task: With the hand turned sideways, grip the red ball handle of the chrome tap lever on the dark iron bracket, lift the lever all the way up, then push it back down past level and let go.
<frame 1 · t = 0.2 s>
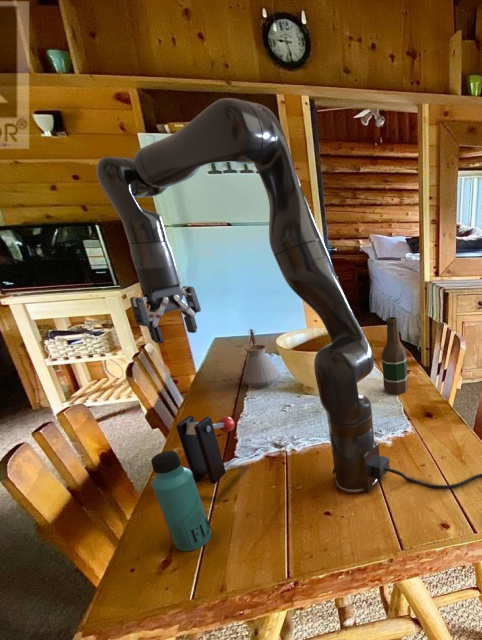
hand: (176, 337, 101), 29 cm above the table, tool pointing down, fingers open, 8 cm apart
beer bottle: (396, 390, 143), on the table
tap bracket: (211, 481, 100), on the table
tap lever: (212, 426, 99), point 12 cm above the table, hinge at -25.0°
coffee pot: (262, 379, 153), on the table
beverage bottle: (196, 545, 83), on the table
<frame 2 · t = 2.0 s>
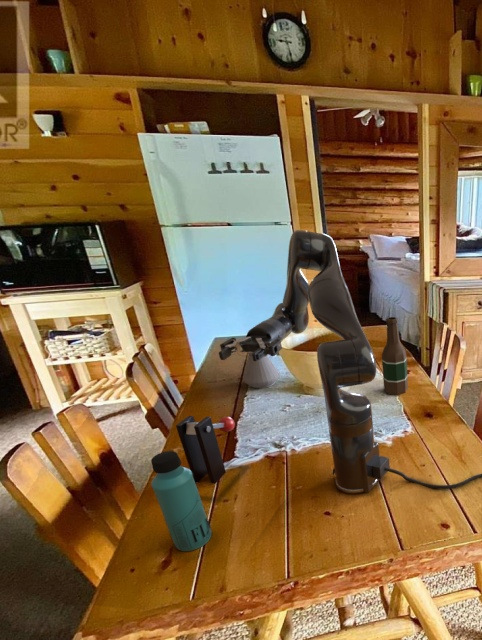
hand: (237, 357, 108), 22 cm above the table, tool horizontal, fingers open, 8 cm apart
nothing on the table moved.
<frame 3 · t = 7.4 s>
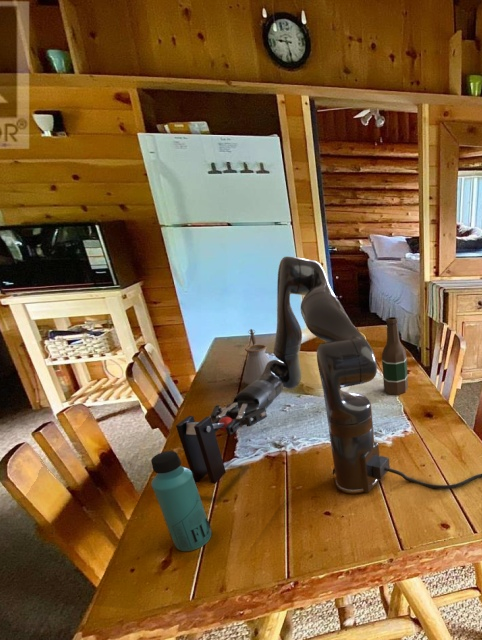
hand: (219, 430, 102), 9 cm above the table, tool horizontal, fingers closed on tap lever, 3 cm apart
tap lever: (212, 426, 99), point 12 cm above the table, hinge at -25.0°, touching gripper
everything else where it was.
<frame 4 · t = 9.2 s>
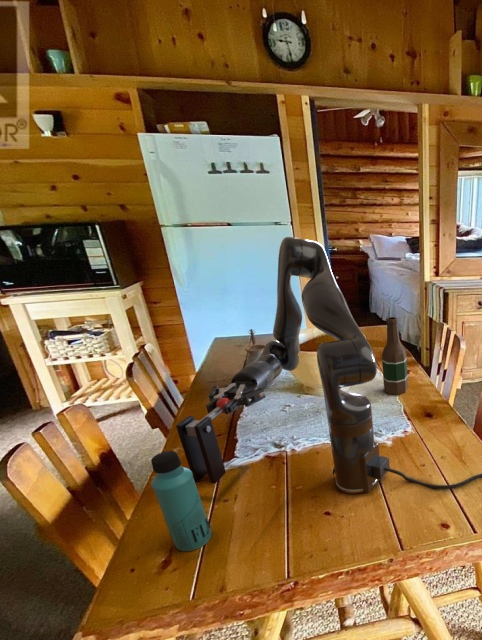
hand: (217, 410, 101), 14 cm above the table, tool horizontal, fingers closed on tap lever, 3 cm apart
tap lever: (211, 415, 99), point 14 cm above the table, hinge at -0.4°, touching gripper
everything else where it was.
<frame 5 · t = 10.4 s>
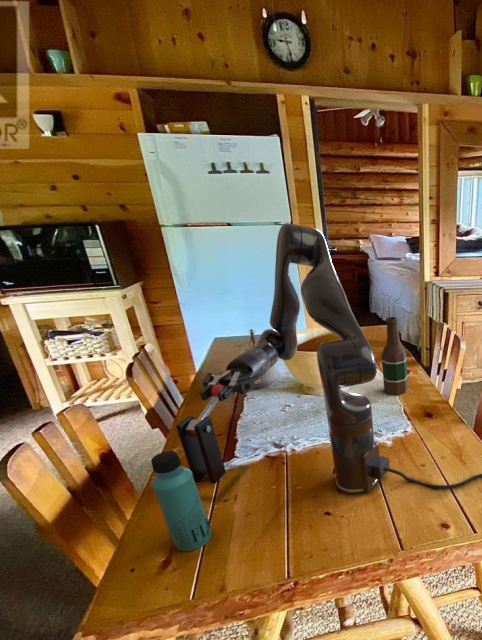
hand: (211, 397, 99), 18 cm above the table, tool horizontal, fingers closed on tap lever, 3 cm apart
tap lever: (208, 409, 98), point 16 cm above the table, hinge at 18.8°, touching gripper
everything else where it was.
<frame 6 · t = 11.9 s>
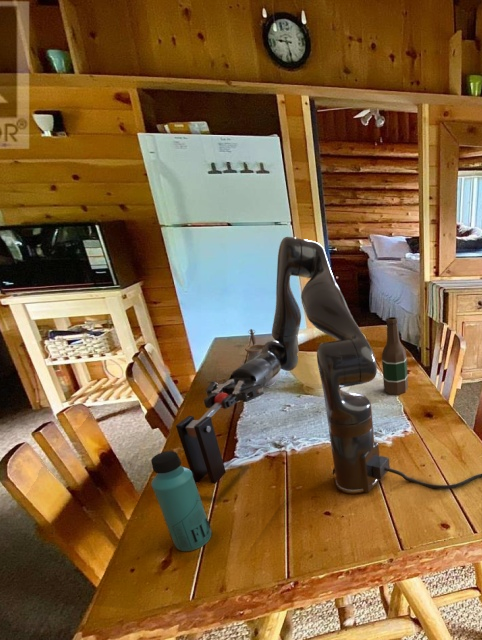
hand: (215, 404, 100), 16 cm above the table, tool horizontal, fingers closed on tap lever, 3 cm apart
tap lever: (210, 413, 98), point 15 cm above the table, hinge at 6.7°, touching gripper
everything else where it was.
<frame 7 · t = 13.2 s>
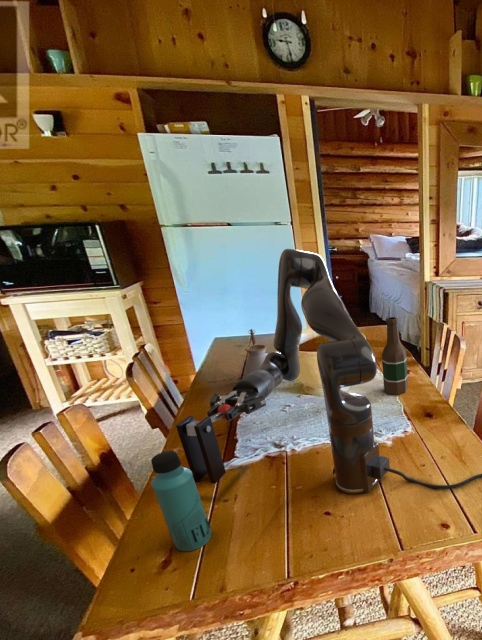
hand: (218, 416, 101), 13 cm above the table, tool horizontal, fingers closed on tap lever, 3 cm apart
tap lever: (211, 419, 99), point 13 cm above the table, hinge at -9.1°, touching gripper
everything else where it was.
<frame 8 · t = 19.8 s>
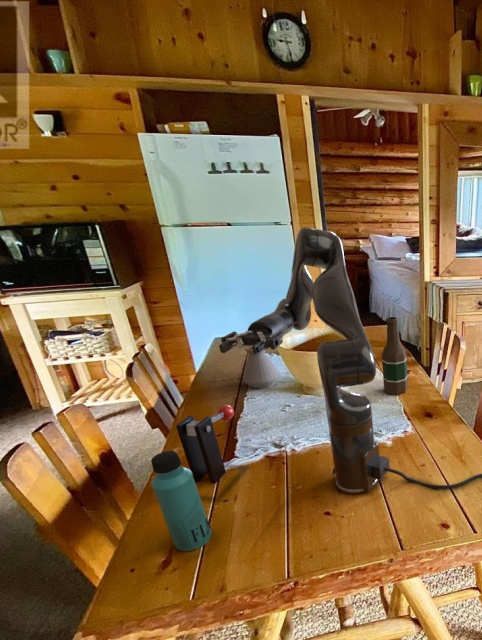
hand: (237, 350, 108), 24 cm above the table, tool horizontal, fingers open, 8 cm apart
tap lever: (212, 419, 99), point 13 cm above the table, hinge at -9.9°
everything else where it was.
at the end: tap lever reached +19° during the clip, -10° at the end; tap lever at -10° (first picture: -25°) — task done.
